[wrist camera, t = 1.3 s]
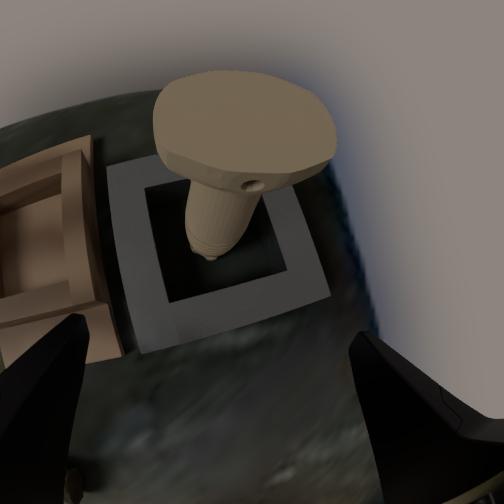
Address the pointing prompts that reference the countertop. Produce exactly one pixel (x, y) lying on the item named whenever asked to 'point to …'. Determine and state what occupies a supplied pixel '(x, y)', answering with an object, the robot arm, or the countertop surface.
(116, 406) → the countertop surface
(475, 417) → the robot arm
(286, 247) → the socket block
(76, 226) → the tan piece
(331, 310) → the countertop surface
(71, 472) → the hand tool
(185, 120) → the handle
